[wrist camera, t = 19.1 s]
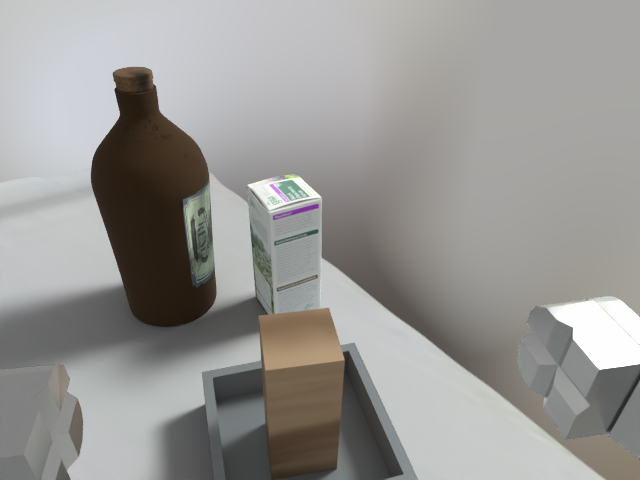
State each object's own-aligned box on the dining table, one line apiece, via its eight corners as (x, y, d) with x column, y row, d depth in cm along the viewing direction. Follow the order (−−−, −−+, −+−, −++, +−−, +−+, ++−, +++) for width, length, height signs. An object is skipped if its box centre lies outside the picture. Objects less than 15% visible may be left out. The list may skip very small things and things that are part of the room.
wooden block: (336, 469, 38) (344, 360, 31) (271, 480, 37) (265, 370, 30) (324, 414, 42) (328, 307, 35) (265, 423, 41) (258, 315, 34)
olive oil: (108, 329, 51) (37, 87, 37) (143, 267, 60) (96, 54, 46) (210, 334, 51) (176, 92, 37) (230, 271, 60) (209, 58, 46)
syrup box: (322, 311, 54) (326, 195, 46) (273, 328, 52) (268, 209, 44) (299, 282, 58) (299, 170, 50) (252, 297, 56) (244, 182, 48)
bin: (206, 403, 44) (201, 372, 41) (351, 372, 47) (354, 342, 45) (225, 566, 33) (219, 536, 31) (411, 512, 36) (419, 482, 34)
